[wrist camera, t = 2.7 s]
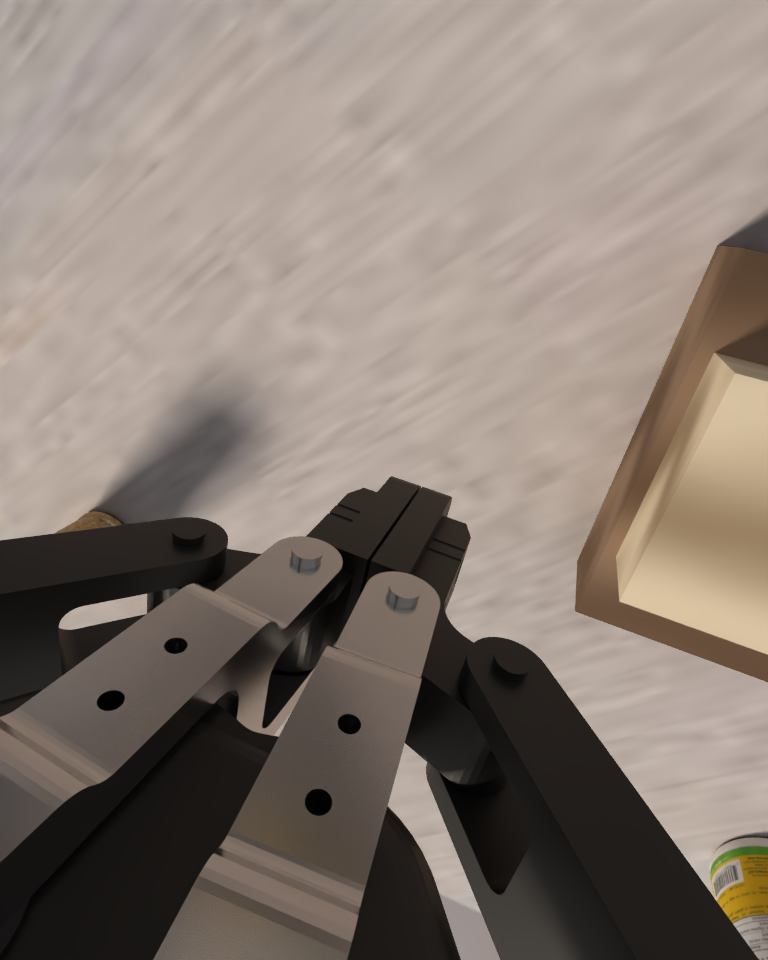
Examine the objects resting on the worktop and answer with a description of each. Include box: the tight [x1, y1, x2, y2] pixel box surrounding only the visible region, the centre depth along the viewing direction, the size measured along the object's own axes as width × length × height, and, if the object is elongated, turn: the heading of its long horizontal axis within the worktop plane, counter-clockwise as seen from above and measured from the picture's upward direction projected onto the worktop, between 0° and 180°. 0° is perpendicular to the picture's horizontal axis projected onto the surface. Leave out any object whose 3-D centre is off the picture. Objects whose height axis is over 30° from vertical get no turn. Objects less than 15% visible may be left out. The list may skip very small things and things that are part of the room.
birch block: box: [616, 352, 768, 655], centre depth 18 cm, size 8×6×3 cm
